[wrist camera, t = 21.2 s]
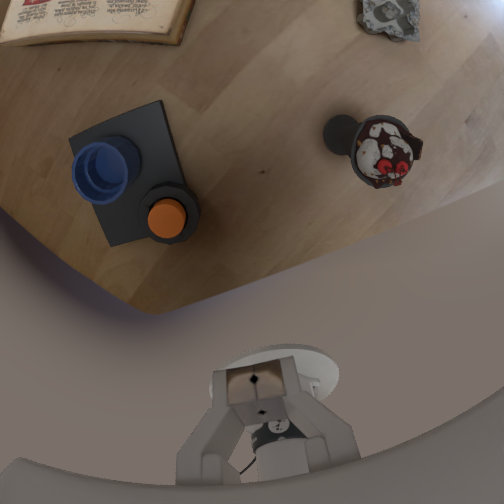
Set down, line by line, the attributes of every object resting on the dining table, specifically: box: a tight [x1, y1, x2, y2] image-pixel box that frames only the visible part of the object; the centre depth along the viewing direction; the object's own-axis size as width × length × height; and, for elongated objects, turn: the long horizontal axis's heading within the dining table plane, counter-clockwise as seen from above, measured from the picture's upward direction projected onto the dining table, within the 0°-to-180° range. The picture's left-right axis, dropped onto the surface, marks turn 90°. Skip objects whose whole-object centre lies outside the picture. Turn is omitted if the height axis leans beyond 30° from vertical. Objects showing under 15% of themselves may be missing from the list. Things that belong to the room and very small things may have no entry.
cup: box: [72, 136, 140, 205], centre depth 27 cm, size 6×6×5 cm
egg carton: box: [357, 0, 420, 42], centre depth 20 cm, size 11×8×4 cm
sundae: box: [323, 115, 423, 189], centre depth 24 cm, size 7×7×15 cm
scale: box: [69, 100, 201, 247], centre depth 30 cm, size 16×13×3 cm
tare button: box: [148, 199, 186, 238], centre depth 30 cm, size 4×4×2 cm
